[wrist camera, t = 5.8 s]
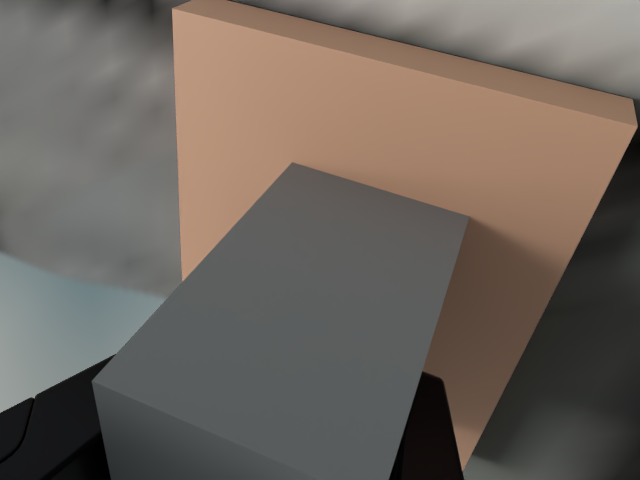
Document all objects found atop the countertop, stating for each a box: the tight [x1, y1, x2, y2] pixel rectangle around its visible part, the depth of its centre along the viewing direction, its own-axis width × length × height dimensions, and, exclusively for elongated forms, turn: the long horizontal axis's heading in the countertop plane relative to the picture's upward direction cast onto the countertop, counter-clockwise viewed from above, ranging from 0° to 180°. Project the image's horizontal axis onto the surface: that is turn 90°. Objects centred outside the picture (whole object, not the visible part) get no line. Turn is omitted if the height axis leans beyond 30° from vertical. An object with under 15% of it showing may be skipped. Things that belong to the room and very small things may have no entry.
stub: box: [92, 0, 638, 480], centre depth 9 cm, size 7×9×6 cm
